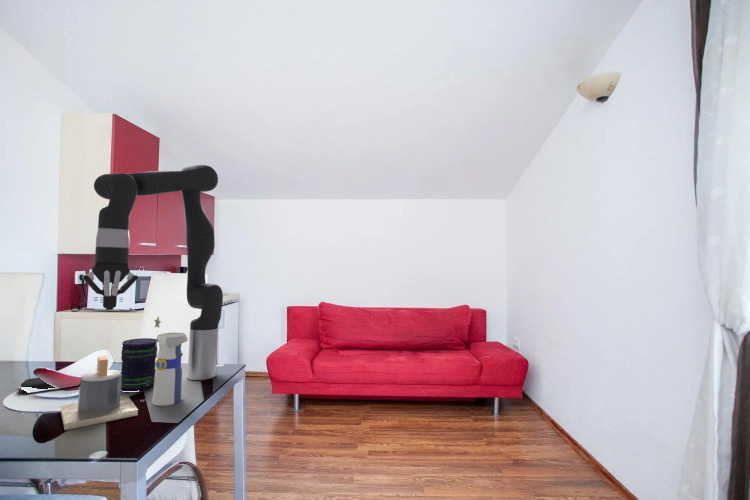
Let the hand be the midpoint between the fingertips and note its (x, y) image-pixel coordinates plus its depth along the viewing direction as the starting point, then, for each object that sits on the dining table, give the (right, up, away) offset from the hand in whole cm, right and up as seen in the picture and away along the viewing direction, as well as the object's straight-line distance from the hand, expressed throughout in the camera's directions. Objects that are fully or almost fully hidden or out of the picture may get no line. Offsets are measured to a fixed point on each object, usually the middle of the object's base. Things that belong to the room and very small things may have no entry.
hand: (109, 309), depth 103 cm
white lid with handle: (-1, -21, -2) cm, 21 cm away
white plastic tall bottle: (+11, -28, +8) cm, 32 cm away
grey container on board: (-1, -27, -2) cm, 27 cm away
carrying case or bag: (-30, -28, +17) cm, 44 cm away
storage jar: (-4, -28, +18) cm, 34 cm away
